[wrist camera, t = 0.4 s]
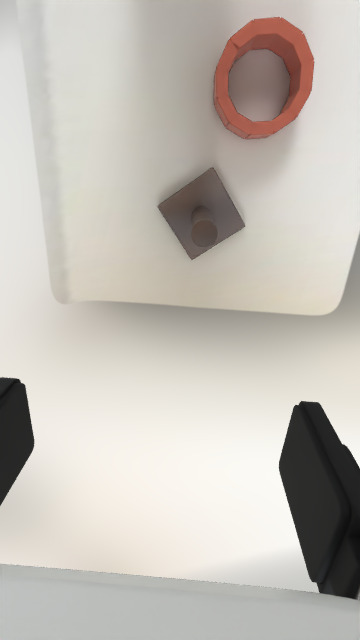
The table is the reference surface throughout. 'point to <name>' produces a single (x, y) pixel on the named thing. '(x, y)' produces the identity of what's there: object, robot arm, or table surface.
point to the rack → (201, 214)
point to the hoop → (296, 58)
